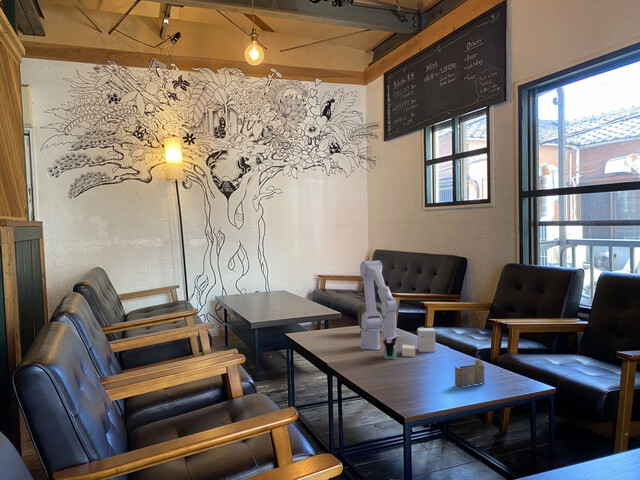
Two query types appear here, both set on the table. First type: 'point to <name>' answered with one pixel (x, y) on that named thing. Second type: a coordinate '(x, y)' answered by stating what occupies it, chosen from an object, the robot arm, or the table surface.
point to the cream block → (408, 350)
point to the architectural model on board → (469, 374)
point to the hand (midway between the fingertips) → (390, 354)
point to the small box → (426, 340)
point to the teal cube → (392, 354)
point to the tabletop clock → (363, 309)
